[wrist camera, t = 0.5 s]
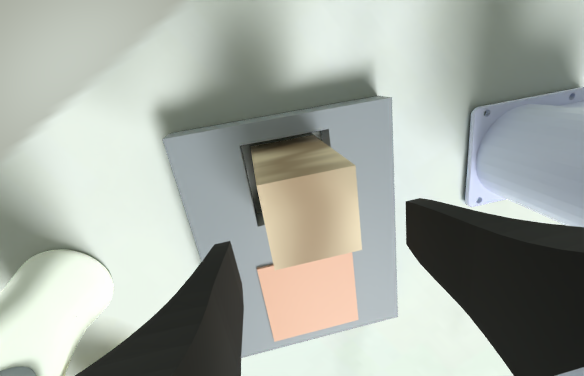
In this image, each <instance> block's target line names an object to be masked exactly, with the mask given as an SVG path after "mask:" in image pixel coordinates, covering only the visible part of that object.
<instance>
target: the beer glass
mask: <svg viewBox="0 0 584 376" xmlns="http://www.w3.org/2000/svg"><path fill="white" fill-rule="evenodd" d="M113 292H114V284H113V280H112V277H111V275H110V273H109V272H108V270H107V269H106V268H105V267H104V266H103V265H102V264H101V263H100V262H99V261H97V260H96V259H94V258H93V257H91V256H89V255H87V254H84V253H81V252H78V251H73V250H66V249H56V250H49V251H45V252H41V253H39V254H37V255H35V256H33V257H31V258H30V259H28V260H27V261H26V262H25V263H24V264H23V265H22V266H21V267H20V268H19V269H18V270H17V272H16V273H15V274H14V275H13V277H12V278H11V280H10V281H9V282H8V284H7V285H6V286H5V287H4V288H3V290H2V291H1V292H0V376H65V374H66V371H67V369H68V366H69V363H70V361H71V358H72V356H73V354H74V351H75V349H76V347H77V345H78V343H79V341H80V339H81V337H82V336H83V334H84V333H85V331H86V330H87V329H88V328H89V326H90V325H91V324H92V323H93V322H94V321H95V320H96V319H97V318H98V317H99V315H100V314H101V313H102V312H103V311H104V310H105V309H106V307H107V306H108V305H109V303H110V301H111V299H112V297H113Z"/></svg>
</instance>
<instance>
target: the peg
mask: <svg viewBox="0 0 584 376" xmlns="http://www.w3.org/2000/svg"><path fill="white" fill-rule="evenodd" d="M250 148H251V154H252V161H253V167H254V173H255V179H256V186H257V190H258V195H259V200H260V204H261V209H262V214H263V218H264V223H265V228H266V232H267V237H268V242H269V246H270V251H271V256H272V260H273V265H274V270H279V269H283V268H287V267H292V266H296V265H300V264H304V263H309V262H313V261H317V260H321V259H326V258H330V257H334V256H338V255H343V254H347V253H351V252H355V251H360V250H362V242H361V229H360V216H359V204H358V191H357V178H356V165H354V164H353V163H352V162H350V161H349V160H347V159H346V158H345V157H343V156H342V155H341V154H339V153H338V152H336V151H335V150H334V149H332V148H331V147H329V146H328V145H327V144H325V143H324V142H323V141H321V140H320V139H318V138H317V137H316V136H314V135H308V136H303V137H298V138H292V139H287V140H282V141H277V142H271V143H266V144H261V145H256V146H250Z"/></svg>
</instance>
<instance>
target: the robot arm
mask: <svg viewBox="0 0 584 376" xmlns="http://www.w3.org/2000/svg"><path fill="white" fill-rule="evenodd" d="M485 111H486V114H485V115H484V112H485ZM477 199H478V200H477ZM505 199H508V200H510V201H512V202H515V203H517V204H519V205H521V206H524V207H526V208H528V209H530V210H533V211H535V212H537V213H539V214H542V215H544V216H546V217H548V218H551V219H553V220H555V221H557V222H560V223H562V224H564V225H555V224H546V223H538V222H531V221H524V220H518V219H512V218H506V217H502V216H497V215H492V214H487V213H483V212H478V211H474V210H470V209H466V208H462V207H458V206H454V205H450V204H446V203H442V202H437V201H433V200H428V199H421V198H419V199H415V200H410V201H406V244H407V246H408V247H409V249H410V250H411V252H412V253H413V255H414V256H415V257H416V259H417V260H418V261H419V263H420V264H421V265H422V266H423V267H424V268H425V269H426V270H427V271H428V272H429V274H430V275H431V276H432V277H433V278H434V279H435V280H436V281H437V282H438V283H439V284H440V285H441V286H442V287H443V288H444V289H445V290H446V291H447V292H448V293H449V294H450V295H451V297H452V298H453V299H454V300H455V301H456V302H457V303H458V304H459V305H460V306H461V307H462V308H463V309H464V310H465V312H466V313H467V314H468V315H469V316H470V317H471V319H472V320H473V321H474V323H475V324H476V325H477V326H478V328H479V329H480V330H481V331H482V333H483V334H484V335H485V337H486V338H487V339H488V341H489V342H490V343H491V345H492V346H493V347H494V349H495V350H496V351H497V353H498V354H499V355H500V357H501V358H502V359H503V361H504V362H505V364H506V365H507V366H508V368H509V369H510V371H511V372H512V374H513V375H514V376H584V87H579V88H574V89H569V90H563V91H558V92H553V93H548V94H543V95H537V96H532V97H527V98H522V99H516V100H511V101H506V102H501V103H496V104H490V105H485V106H480V107H476V108H475V109H474V110H473V111H472V113H471V123H470V137H469V152H468V166H467V180H466V194H465V204H466V205H468V206H470V207H475V206H479V205H483V204H488V203H492V202H496V201H501V200H505ZM566 225H567V226H566ZM243 315H244V302H243V288H242V281H241V278H240V274H239V270H238V267H237V263H236V259H235V256H234V252H233V249H232V245H231V241H227V242H223V243H218V244H214V246H213V247H212V248H211V250H210V251H209V252H208V254H207V255H206V257H205V258H204V259H203V261H202V262H201V263H200V265H199V266H198V267H197V269H196V270H195V271H194V273H193V274H192V275H191V277H190V278H189V279H188V280H187V281H186V282H185V284H184V285H183V286H182V287H181V288H180V289H179V291H178V292H177V293H176V294H175V295H174V296H173V297H172V298H171V299H170V300H169V302H168V303H167V304H166V305H165V306H164V307H162V308H161V309H160V310H159V311H158V312H157V313H156V314H155V315H154V316H153V317H152V318H151V319H150V320H149V321H147V322H146V323H145V324H144V325H143V326H141V327H140V328H139V329H138V330H137V331H136V332H134V333H133V334H132V335H131V336H130V337H128V338H127V339H126V340H125V341H123V342H122V343H121V344H119V345H118V346H117V347H116V348H114V349H113V350H112V351H110V352H109V353H107V354H106V355H105V356H103V357H102V358H100V359H99V360H98V361H96V362H95V363H93V364H92V365H90V366H89V367H88V368H86V369H85V370H83V371H82V372H80V373H78V374H77V375H75V376H241V352H242V334H243Z"/></svg>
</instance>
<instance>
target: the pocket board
mask: <svg viewBox="0 0 584 376" xmlns="http://www.w3.org/2000/svg"><path fill="white" fill-rule="evenodd" d="M320 130H321V132H322V141H323V142H324V143H325V144H327V145H328V146H329V147H331V148H332V149H334V150H335V151H336V152H338V153H339V154H341V155H342V156H343V157H345V158H346V159H347V160H349V161H350V162H352V163H353V164H354V165H356V178H357V191H358V204H359V216H360V229H361V242H362V250H360V251H355V252H351V253H347V254H343V255H338V256H334V257H330V258H326V259H321V260H317V261H313V262H309V263H304V264H300V265H296V266H292V267H287V268H283V269H279V270H274V265H273V260H272V256H271V251H270V246H269V242H268V237H267V232H266V228H265V223H264V218H263V214H262V213H259V214H256V211H255V207H254V202H253V198H252V193H251V189H250V184H249V180H248V175H247V171H246V166H245V162H244V157H243V153H242V148H241V145H246V144H252V143H257V142H262V141H268V140H273V139H278V138H283V137H289V136H294V135H299V134H305V133H310V132H315V131H320ZM162 140H163V143H164V146H165V149H166V152H167V156H168V159H169V162H170V165H171V168H172V171H173V174H174V177H175V180H176V184H177V187H178V190H179V193H180V196H181V199H182V202H183V205H184V208H185V211H186V215H187V218H188V221H189V224H190V227H191V230H192V233H193V236H194V239H195V242H196V246H197V249H198V252H199V255H200V258H201V261H203V259H204V258H205V257H206V255H207V254H208V252H209V251H210V250H211V248H212V247H213V246H214V244H218V243H223V242H227V241H231V245H232V249H233V252H234V256H235V259H236V263H237V267H238V270H239V274H240V278H241V281H242V288H243V302H244V315H243V334H242V352H241V358H243V357H247V356H251V355H254V354H258V353H262V352H266V351H270V350H273V349H277V348H281V347H285V346H289V345H292V344H296V343H300V342H304V341H308V340H311V339H315V338H319V337H323V336H327V335H330V334H334V333H338V332H342V331H346V330H350V329H353V328H357V327H361V326H365V325H369V324H372V323H376V322H380V321H384V320H388V319H391V318H395V317H398V306H397V269H396V233H395V196H394V160H393V123H392V97H383V96H374V97H369V98H363V99H358V100H352V101H347V102H341V103H336V104H330V105H325V106H319V107H314V108H308V109H302V110H297V111H291V112H286V113H280V114H275V115H269V116H264V117H258V118H253V119H247V120H242V121H236V122H230V123H225V124H219V125H214V126H208V127H203V128H197V129H192V130H186V131H181V132H175V133H170V134H169V135H167V136H166V137H165V138H163V139H162Z"/></svg>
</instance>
